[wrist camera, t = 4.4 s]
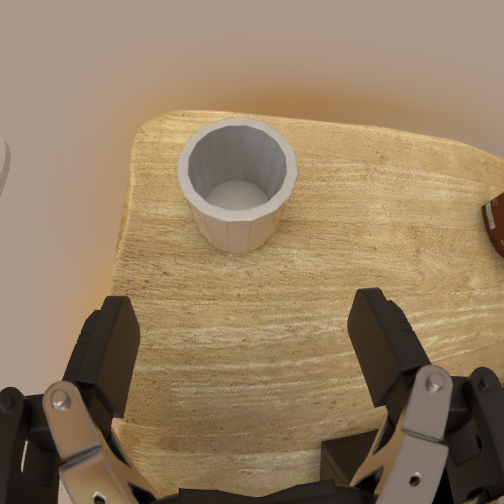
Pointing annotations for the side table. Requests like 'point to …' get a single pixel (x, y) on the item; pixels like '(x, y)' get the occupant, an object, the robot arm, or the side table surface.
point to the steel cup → (237, 181)
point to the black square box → (354, 454)
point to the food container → (495, 222)
